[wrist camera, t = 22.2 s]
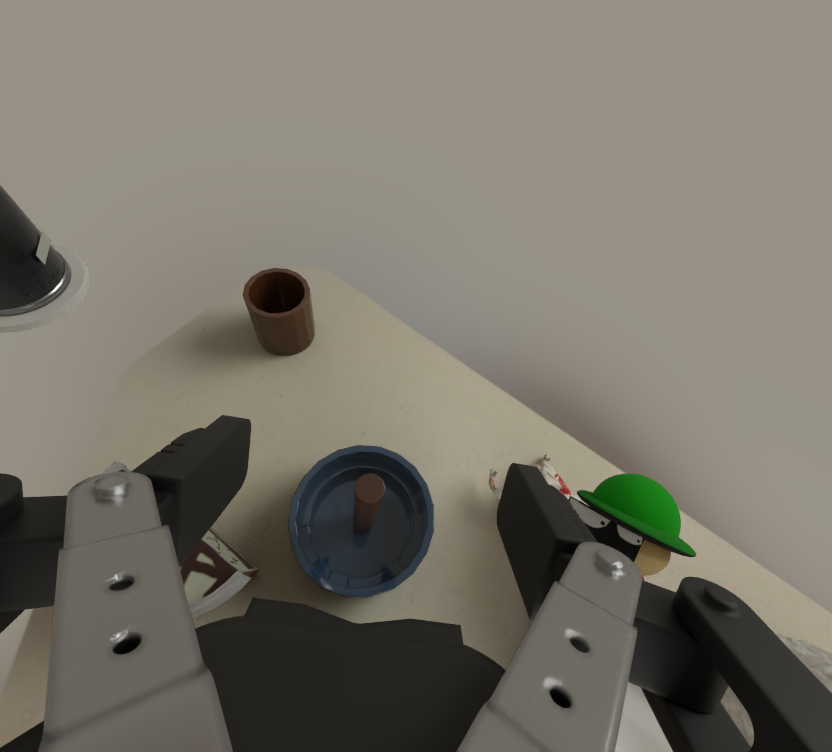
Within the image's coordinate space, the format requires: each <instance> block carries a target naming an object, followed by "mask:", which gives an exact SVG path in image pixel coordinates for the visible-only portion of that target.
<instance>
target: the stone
mask: <svg viewBox="0 0 832 752" xmlns="http://www.w3.org/2000/svg"><path fill="white" fill-rule="evenodd" d="M776 635H777V636H778V638H779V639H780V640H781V641H782V642H783V643H784V644H785V645H786V646H787V647H788V648H789V649H790V650H791V651H792V652H793V653H794V654H795V655H796V656H797V657H798V659H799V660H800V661H801V662H802V663H803V664H804V665H805V666H806V667H807V668H808V669H809V670H810V671H811V672H812V673H813V674H814V675H815V676H816V677H817V678H818V679H819V681H820V682H821V683H822V684H823V685H824V686H825V687H826V688H827V689H828V690H829V691H830V692H831V693H832V653H829V652H827V651H825V650H823V649H821V648H819V647H817V646H815V645H813V644H812V643H810V642H808V641H804V640H798V641H795V640H793V639H791V638H789V637H787V636H784V635H781V634H776ZM721 703H722V705H723V706H724V708H725V709H726V711H727V712H728V714H729V715H730V717H731V718H732V720H733V721H734V723H735V724H736V726H737V727H738V729H739V730H740V732H741V733H742V735H743V736H744V738H745V739H746V741H747V742H748V743H749V745H750V746H751V747H752V745H753V742H754V730H753V725H752V722H751V719H750V717H749V715H748V713H747V711H746V709H745V708H744V706H743V705H742V703H741V702H740V701H739V699H738V698H737V696H736V695H735V694H734V692H733V691H732V690H731V688H730V687H729V686H728V688H727V690H726V692H725V694H724V696H723V698H722V700H721Z"/></svg>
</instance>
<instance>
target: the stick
mask: <svg viewBox="0 0 832 752" xmlns="http://www.w3.org/2000/svg"><path fill="white" fill-rule="evenodd" d="M384 493H385V484H384V481H383V480H382V478H381V477H379V476H378V475H376V474H372V473H369V474H365V475H363V476H361V477H360V478H359V479H358V480H357V482H356V485H355V494H354V510H353V528H354V530H355V531H356V532H357V533H359V534H366V533H368V532H369V531H370V530H371V528H372V526H373V523H374V520H375V518H376V515H377V512H378V509H379V507H380V504H381V501H382V498H383V496H384Z"/></svg>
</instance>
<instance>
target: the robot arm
mask: <svg viewBox="0 0 832 752" xmlns="http://www.w3.org/2000/svg"><path fill="white" fill-rule="evenodd" d="M50 243H51V240H50V239H49V237H48V236H47V235H46V234H45V233H44V232H43V231H42V233H41V232H40V231H39V230H38V229H37V228H36V226H35V225H34V224H33V223H32V222H31V220H30V219H29V218H28V217H27V216H26V215H25V214H24V212H23V211H22V210H21V209H20V208H19V206H18V205H17V204H16V203H15V202H14V200H13V199H12V198H11V197H10V196H9V195H8V193H7V192H6V191H5V190H4V189H3V188H2V187H1V185H0V316H15V315H21V314H25V313H29V312H32V311H35V310H38V309H40V308H42V307H44V306H46V305H48V304H49V303H51V302H53V301H54V300H55V299H57V298H58V297H59V296H60V295H61V294H62V293H63V292H64V291H65V290H66V288H67V287H68V285H69V283H70V280H71V275H72V274H71V268H70V266H69V264H68V262H67V261H66V260H65V259H64V258H63V256H62V255H61V254H60V253H59V252H57V251H56V250H55V249H54V248H53V246H52V245H51V244H50ZM250 435H251V422H250V420H249V419H244V418H238V417H232V416H226V415H222V416H221V417H219V418H218V419H217V420H215V421H214V422H213V423H212V424H210V425H209V426H208V427H207V428H205V429H203V428H198V429H196V430H193V431H190V432H187V433H184V434H182V435H181V436H179V437H178V438H177V439H175V440H174V441H172V442H171V444H170V445H169V444H168V445H167V446H166V447H164V448H163V449H162V450H161V452H157V453H156V454H155V455H153V456H152V457H151V458H149V459H148V460H146V461H145V462H144V463H142V464H141V465H140V466H138V467H137V468H135V469H134V470H133V471H131V472H112V473H105V474H101V475H97V476H94V477H91V478H88V479H86V480H83V481H82V482H80V483H78V484H76V485H75V486H74V487H73V488H72V489H71V490H70V491H69V492H68V495H67V496H49V497H23V491H22V482H21V480H20V479H19V478H17V477H15V476H12V475H8V474H0V633H1V632H2V631H3V630H4V629H5V628H6V627H7V626H8V625H10V623H11V622H13V621H14V619H16V618H17V617H18V616H19V615H20V614H21V613H22V612H23V611H24V610H25V609H32V608H40V607H48V606H54V614H53V626H52V637H51V649H50V661H49V672H48V684H47V695H46V707H45V719H44V721H43V722H41V723H39V724H38V725H36V726H35V727H33V728H31V729H30V730H28V731H27V732H25V733H23V734H22V735H20V736H19V737H17V738H15V739H14V740H12V741H11V742H9V743H7V744H6V745H4V746H2V747H1V748H0V752H615V749H616V744H617V739H618V733H619V728H620V723H621V717H622V712H623V706H624V701H625V696H626V690H627V685H628V682H629V683H631V684H634V685H636V686H638V687H641V689H642V691H643V693H644V695H645V697H646V699H647V701H648V703H649V705H650V707H651V709H652V711H653V713H654V715H655V717H656V719H657V721H658V723H659V725H660V727H661V729H662V731H663V733H664V735H665V737H666V739H667V741H668V743H669V745H670V747H671V749H672V751H673V752H832V693H831V692H830V691H829V690H828V689H827V688H826V687H825V686H824V685H823V684H822V683H821V682H820V681H819V679H818V678H817V677H816V676H815V675H814V674H813V673H812V672H811V671H810V670H809V669H808V668H807V667H806V666H805V665H804V664H803V663H802V662H801V661H800V660H799V659H798V657H797V656H796V655H795V654H794V653H793V652H792V651H791V650H790V649H789V648H788V647H787V646H786V645H785V644H784V643H783V642H782V641H781V640H780V639H779V638H778V636H777V635H776V634H775V633H774V632H773V631H772V630H771V629H770V628H769V627H768V626H767V625H766V624H765V623H764V622H763V621H762V620H761V619H760V618H759V617H758V616H757V614H756V613H755V612H754V611H753V610H752V609H751V608H750V607H749V606H748V605H747V604H746V603H744V602H743V601H742V600H741V599H740V598H738V597H737V596H736V595H734V594H733V593H731V592H730V591H728V590H726V589H725V588H723V587H721V586H719V585H717V584H715V583H713V582H710V581H708V580H705V579H701V578H697V577H686V578H684V579H682V581H681V583H680V585H679V588H678V590H677V592H673V591H670V590H667V589H665V588H662V587H659V586H656V585H653V584H651V583H648V582H645V581H643V580H642V574H641V572H640V570H639V569H638V567H637V566H636V565H635V564H634V563H633V562H632V561H631V560H630V559H629V558H628V557H626V556H625V555H624V554H622V553H621V552H619V551H617V550H615V549H614V548H611V547H609V546H607V545H604V544H601V543H598V542H597V540H596V539H595V538H594V536H593V535H592V533H591V532H590V530H589V529H588V527H587V526H586V525H585V523H584V522H583V520H582V519H581V518H579V515H578V513H577V512H576V510H575V509H573V506H572V505H571V503H570V502H569V500H568V499H567V497H566V496H565V495H564V494H563V493H561V492H560V491H559V490H558V489H556V488H555V487H554V486H553V485H549V484H548V483H547V481H546V480H545V478H544V476H543V475H542V473H541V472H540V470H539V469H538V468H537V467H534V466H528V465H522V464H516V463H512V464H511V465H510V467H509V469H508V473H507V476H506V480H505V484H504V487H503V491H502V494H501V498H500V502H499V505H498V510H497V526H498V530H499V533H500V535H501V538H502V541H503V544H504V547H505V550H506V553H507V556H508V558H509V561H510V564H511V567H512V570H513V573H514V576H515V578H516V581H517V584H518V587H519V590H520V593H521V596H522V599H523V601H524V604H525V607H526V610H527V613H528V616H529V619H533V622H532V624H531V625H530V627H529V629H528V631H527V633H526V635H525V636H524V638H523V640H522V642H521V644H520V645H519V647H518V649H517V651H516V653H515V655H514V656H513V658H512V660H511V662H510V664H509V666H508V667H507V669H506V670H505V669H503V668H502V667H501V666H500V665H498V664H497V663H496V662H495V661H493V660H492V659H490V658H489V657H487V656H486V655H484V654H482V653H481V652H479V651H477V650H475V649H473V648H471V647H469V646H466V645H464V644H463V639H462V632H461V626H460V625H454V624H447V623H439V622H432V621H424V620H417V619H403V620H394V621H384V622H374V623H364V624H357V623H352V622H349V621H347V620H344V619H342V618H339V617H336V616H334V615H331V614H328V613H326V612H323V611H321V610H318V609H315V608H313V607H310V606H307V605H304V604H296V603H289V602H281V601H274V600H266V599H259V598H253V599H252V601H251V603H250V605H249V607H248V609H247V611H246V613H245V615H244V616H238V617H232V618H227V619H222V620H219V621H216V622H212V623H209V624H206V625H204V626H201V627H199V628H196V629H195V628H194V624H193V620H192V616H191V612H190V608H189V604H188V600H187V596H186V592H185V588H184V584H183V580H182V576H181V572H180V567H181V566H182V564H183V563H184V562H185V560H186V559H187V558H188V556H189V555H190V554H191V552H192V551H193V550H194V549H195V547H196V546H197V545H198V543H199V542H200V541H201V539H202V538H203V537H204V535H205V534H206V533H207V532H208V530H209V529H210V528H211V526H212V525H213V524H214V522H215V521H216V520H217V518H218V517H219V516H220V515H221V513H222V512H223V511H224V509H225V508H226V507H227V505H228V504H229V503H230V501H231V500H232V499H233V498H234V496H235V495H236V494H237V492H238V491H239V490H240V488H241V487H242V485H243V483H244V480H245V477H246V474H247V469H248V459H249V447H250ZM728 686H729V687H730V688H731V690H732V691H733V692H734V694H735V695H736V696H737V698H738V699H739V701H740V702H741V703H742V705H743V706H744V708H745V709H746V711H747V713H748V715H749V717H750V719H751V722H752V725H753V730H754V742H753V745H752V747H751V746H750V745H749V743H748V742H747V741H746V739H745V738H744V736H743V735H742V733H741V732H740V730H739V729H738V727H737V726H736V724H735V723H734V721H733V720H732V718H731V717H730V715H729V714H728V712H727V711H726V709H725V708H724V706H723V705H722V703H721V700H722V698H723V696H724V694H725V692H726V690H727V688H728Z"/></svg>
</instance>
